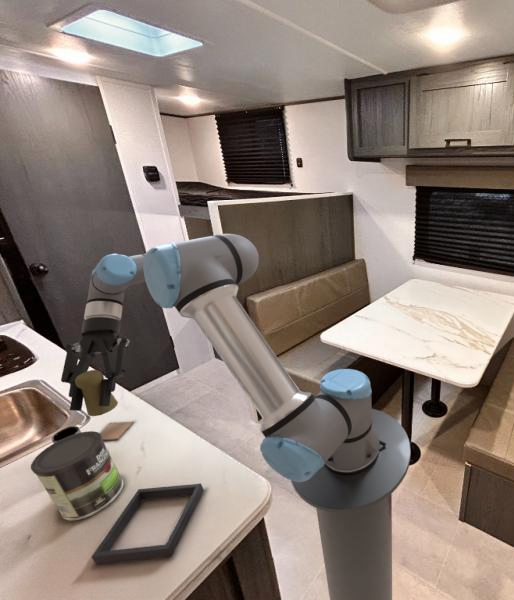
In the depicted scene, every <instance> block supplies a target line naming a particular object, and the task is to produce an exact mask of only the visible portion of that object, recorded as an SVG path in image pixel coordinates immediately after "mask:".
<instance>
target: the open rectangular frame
mask: <svg viewBox="0 0 514 600" xmlns="http://www.w3.org/2000/svg"><path fill="white" fill-rule="evenodd" d="M204 492H205V490H204V487H203V484H202V483H192V484H181V485H180V484H179V485H170V486H159V487H158V486H157V487H149V488H148V487H147V488H138V489H137V490H136V492H135V494H134V495H133V496H132V498H131V499H130V500H129V502H128V504H127V505H126V506H125V508H124V510H123V511H122V512H121V514H120V515H119V517H118V518H117V519H116V521H115V522H114V524H112V526H111V527H110V529H109V531H108V532H107V534H106V535H105V537H104V538H103V539H102V541H101V542H100V544H99V545H98V547H97V548H96V549H95V551H94V552H93V553H92V555H91V559H92V561H93V562H94V563H95V565H96V566H100V565H108V564H116V563H117V564H118V563H125V562H126V563H128V562H134V561H144V560H155V559H162V558H172V557H173V555H174V553H175V551H176V548H177V546H178V544H179V543H180V541H181V539H182V536H183V534H184V532H185V530H186V529H187V526H188V525H189V522H190V520H191V518H192V516H193V514H194V512H195V510H196V508H197V507H198V505H199V503H200V500H201V498H202V496H203V494H204ZM189 496H190V497H189ZM177 497H178V498H179V497H189V499H188V501H187V503H186V505H185V507H184V509H183V511H182V513H181V515H180V517H179V518H178V521H177V522H176V524H175V526H174V528H173V530H172V532H171V534H170V535H169V537H168V539H167V542H166V544H159V545H158V544H157V545H149V546H140V547H129V548H120V549H112V548H113V547H114V545H115V544H116V542H117V541H118V539H119V538H120V537H121V535H122V533H123V531H124V530H125V529H126V527H127V525H128V524H129V522H130V521H131V519H132V518H133V516H135V513H136V512H137V510H138V509H139V508H140V506H141V504H142V503H143V502H144V501H145V500H154V499H155V500H156V499H157V500H158V499H166V498H167V499H168V498H177Z"/></svg>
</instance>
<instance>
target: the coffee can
mask: <svg viewBox="0 0 514 600" xmlns="http://www.w3.org/2000/svg"><path fill="white" fill-rule="evenodd" d="M100 433H101V432H100ZM100 433H99V432H98V431H95V430H94V431H93V430H92V431H91V430H89V431H81V433H77V434H74V435H71V436H68V437H66V438H64V439H62V440H59V441H57V442H56V443H52V444H51V445H49V446H48V447H46V448H44V449H43V450H42V451H41V452H39V454H37V455H36V457H34V459H33V460H32V462H31V464H30V470H31V472H32V473H33V474H35V475H36V477H37V478H38V480H39V483H41V485H42V487H43V488H44V490H45V491H46V493H47V494H48V496H49V497H50V499H51V500H52V502H53V504H54V505H55V507H56V508H57V510H58V511H59V513H60V514H61V517H62V519H63V520H65V521H81V520H84V519H86V518H89V517H91V516H93V515H95V514H97V513H99V512H101V511H102V510H104V509H105V508H106V507H108V506H109V505H110V504H111V503H112V502H114V501H115V500H116V499H117V498H118V496H119V495H120V494H121V492H122V490H123V487H124V480H123V478H122V477H121V475H120V473H119V470H118V468H117V466H116V465H115V462H114V461H113V458H112V457H111V454H110V452H109V450H108V448H107V446H106V444H105V441H103V438H102V436H101V434H100Z"/></svg>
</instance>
